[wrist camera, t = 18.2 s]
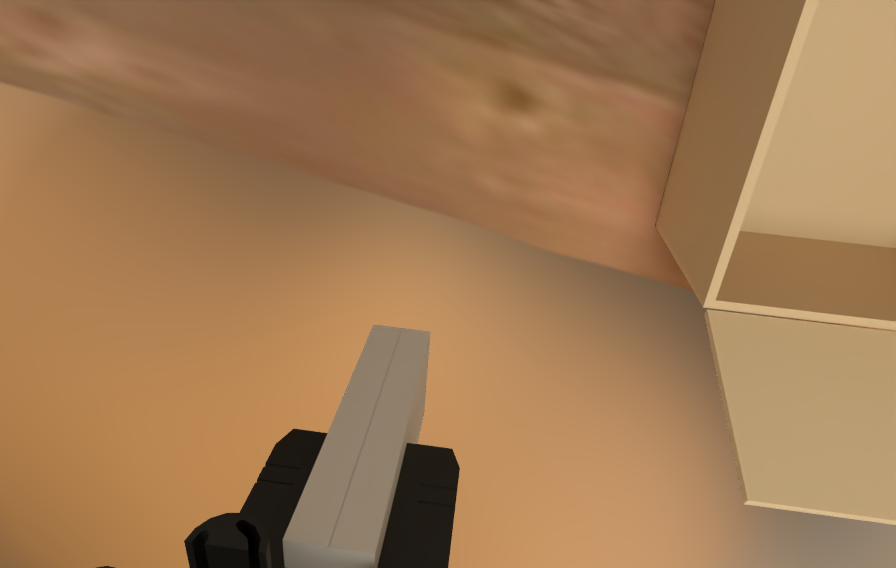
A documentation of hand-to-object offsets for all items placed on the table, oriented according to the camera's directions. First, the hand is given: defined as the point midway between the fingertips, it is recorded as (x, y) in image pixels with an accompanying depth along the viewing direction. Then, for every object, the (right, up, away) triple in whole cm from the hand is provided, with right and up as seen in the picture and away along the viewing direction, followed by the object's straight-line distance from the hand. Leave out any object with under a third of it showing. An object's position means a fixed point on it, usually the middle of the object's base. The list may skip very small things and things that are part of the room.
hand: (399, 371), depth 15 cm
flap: (+27, -5, +16) cm, 31 cm away
